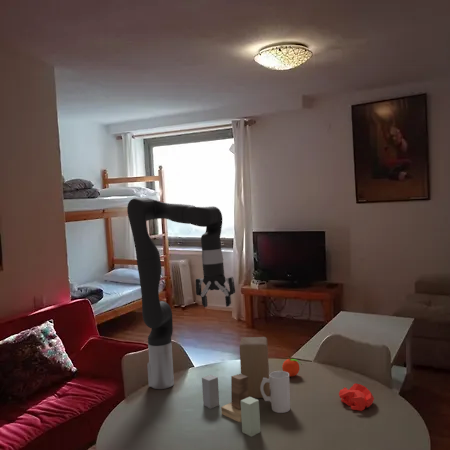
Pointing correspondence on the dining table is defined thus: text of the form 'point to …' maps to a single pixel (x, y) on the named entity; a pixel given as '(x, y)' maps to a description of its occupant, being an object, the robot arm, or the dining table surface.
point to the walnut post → (239, 389)
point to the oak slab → (231, 412)
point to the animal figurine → (356, 397)
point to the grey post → (210, 391)
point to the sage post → (250, 416)
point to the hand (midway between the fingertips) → (216, 306)
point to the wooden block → (255, 364)
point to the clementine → (291, 367)
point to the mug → (278, 391)
